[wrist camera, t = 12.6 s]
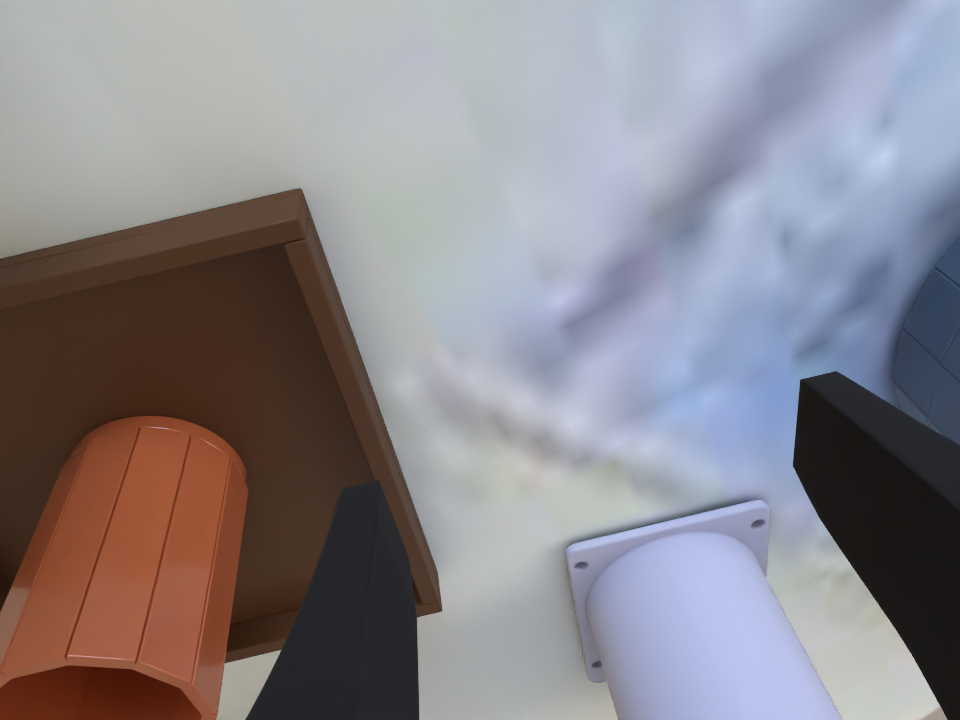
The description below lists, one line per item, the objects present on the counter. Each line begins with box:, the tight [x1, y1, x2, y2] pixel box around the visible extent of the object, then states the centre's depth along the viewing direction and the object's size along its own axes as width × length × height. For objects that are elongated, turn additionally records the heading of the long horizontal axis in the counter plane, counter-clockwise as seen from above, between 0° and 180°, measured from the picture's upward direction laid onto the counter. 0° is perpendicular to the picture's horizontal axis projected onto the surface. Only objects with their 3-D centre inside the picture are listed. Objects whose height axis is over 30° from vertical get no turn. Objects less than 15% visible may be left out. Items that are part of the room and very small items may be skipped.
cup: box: [0, 415, 248, 720], centre depth 21 cm, size 5×5×8 cm
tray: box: [0, 189, 442, 663], centre depth 24 cm, size 16×14×2 cm
